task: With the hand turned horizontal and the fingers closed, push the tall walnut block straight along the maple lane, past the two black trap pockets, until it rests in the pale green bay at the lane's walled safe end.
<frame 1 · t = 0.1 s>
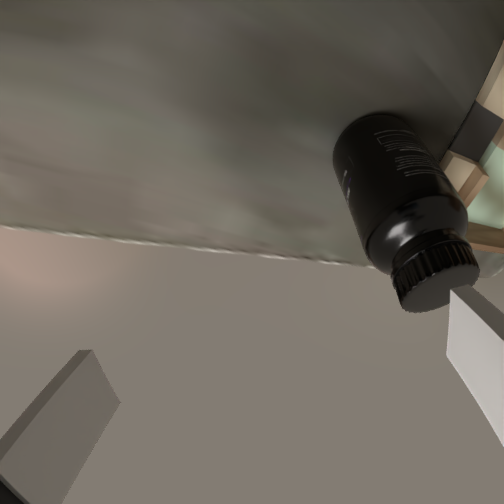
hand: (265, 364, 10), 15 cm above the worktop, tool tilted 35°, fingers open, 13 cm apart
supplement bottle: (373, 149, 22), on the worktop
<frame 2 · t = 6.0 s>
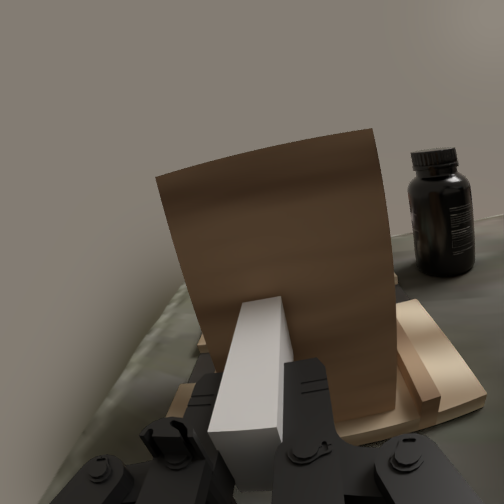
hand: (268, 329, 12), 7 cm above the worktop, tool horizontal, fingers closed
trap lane: (310, 332, 25), on the worktop
walnut block: (313, 377, 18), point 1 cm above the worktop, touching gripper
supplement bottle: (445, 266, 29), on the worktop
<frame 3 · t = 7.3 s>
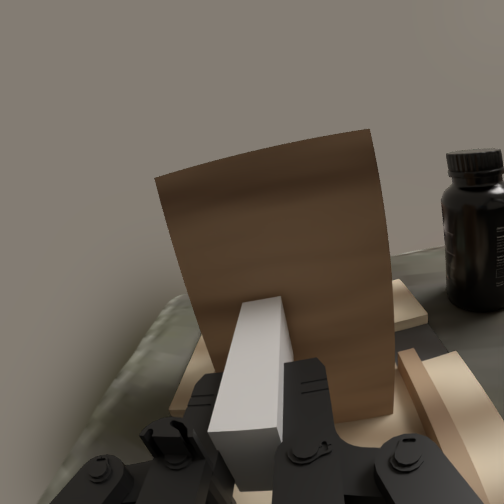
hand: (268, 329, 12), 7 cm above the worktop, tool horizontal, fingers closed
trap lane: (316, 397, 18), on the worktop
walnut block: (315, 377, 18), point 1 cm above the worktop
supplement bottle: (480, 296, 22), on the worktop
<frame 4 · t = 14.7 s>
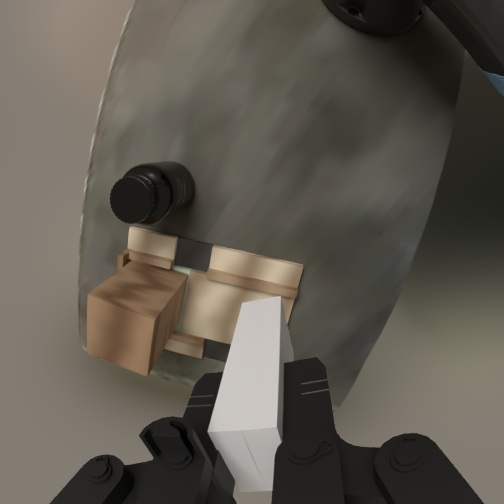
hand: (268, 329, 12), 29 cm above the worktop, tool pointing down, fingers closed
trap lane: (204, 304, 45), on the worktop
walnut block: (157, 291, 44), point 1 cm above the worktop, touching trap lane
supplement bottle: (170, 186, 41), on the worktop
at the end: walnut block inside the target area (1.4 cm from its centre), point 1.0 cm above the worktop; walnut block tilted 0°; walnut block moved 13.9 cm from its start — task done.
